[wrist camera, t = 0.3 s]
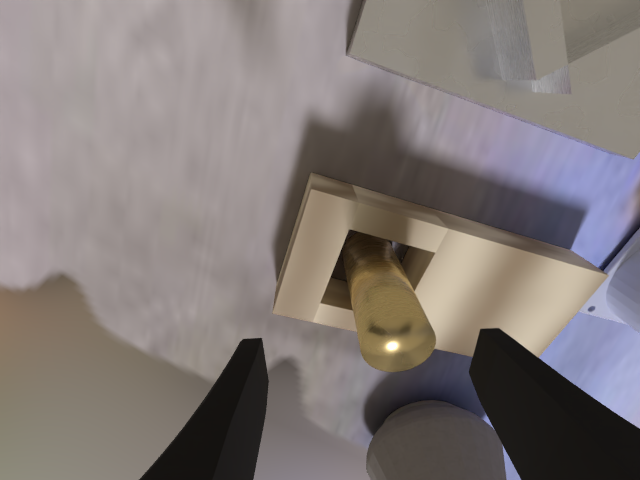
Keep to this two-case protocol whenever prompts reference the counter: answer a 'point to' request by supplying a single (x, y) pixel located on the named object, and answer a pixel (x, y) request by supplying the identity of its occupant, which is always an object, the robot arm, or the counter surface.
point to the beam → (434, 269)
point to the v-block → (519, 59)
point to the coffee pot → (435, 445)
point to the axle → (385, 306)
